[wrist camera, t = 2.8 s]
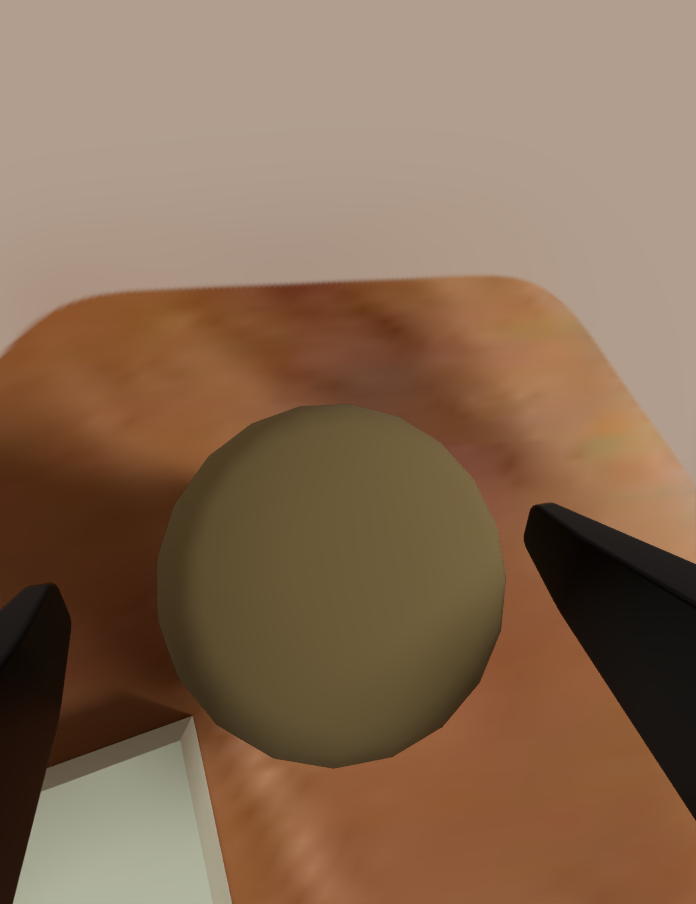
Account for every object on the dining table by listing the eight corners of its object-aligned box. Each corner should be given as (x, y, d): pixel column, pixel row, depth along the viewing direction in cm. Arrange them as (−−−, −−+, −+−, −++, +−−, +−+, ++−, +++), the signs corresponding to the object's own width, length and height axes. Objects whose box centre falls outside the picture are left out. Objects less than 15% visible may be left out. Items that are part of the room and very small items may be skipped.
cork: (160, 594, 15) (-45, 608, 5) (283, 458, 17) (321, 262, 7) (304, 717, 15) (404, 1001, 5) (413, 565, 17) (653, 532, 7)
